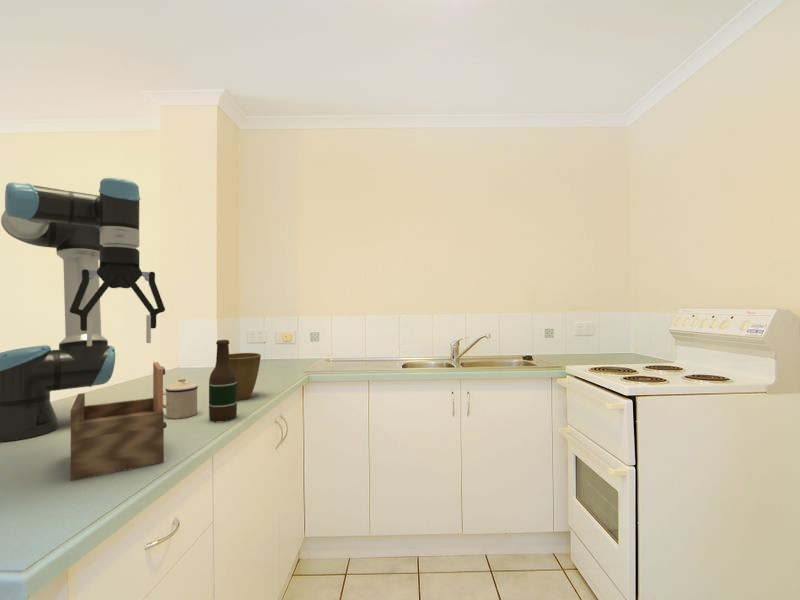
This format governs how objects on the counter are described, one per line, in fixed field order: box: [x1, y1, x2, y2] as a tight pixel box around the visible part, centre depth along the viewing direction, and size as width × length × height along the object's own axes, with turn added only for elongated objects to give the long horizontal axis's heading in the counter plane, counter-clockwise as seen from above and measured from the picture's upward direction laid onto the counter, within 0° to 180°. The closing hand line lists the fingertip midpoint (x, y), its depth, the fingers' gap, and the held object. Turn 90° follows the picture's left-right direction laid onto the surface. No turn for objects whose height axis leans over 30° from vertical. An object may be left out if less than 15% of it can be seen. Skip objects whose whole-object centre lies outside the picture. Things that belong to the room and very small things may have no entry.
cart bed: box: [70, 392, 168, 481], centre depth 92 cm, size 17×18×14 cm
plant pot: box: [229, 352, 262, 401], centre depth 151 cm, size 15×15×16 cm
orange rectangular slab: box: [152, 361, 166, 412], centre depth 97 cm, size 2×15×12 cm, turn 35°
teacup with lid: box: [163, 377, 199, 419], centre depth 128 cm, size 12×9×12 cm
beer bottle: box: [208, 339, 238, 423], centre depth 123 cm, size 8×8×24 cm
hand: (120, 344), depth 92 cm, fingers open, 10 cm apart
